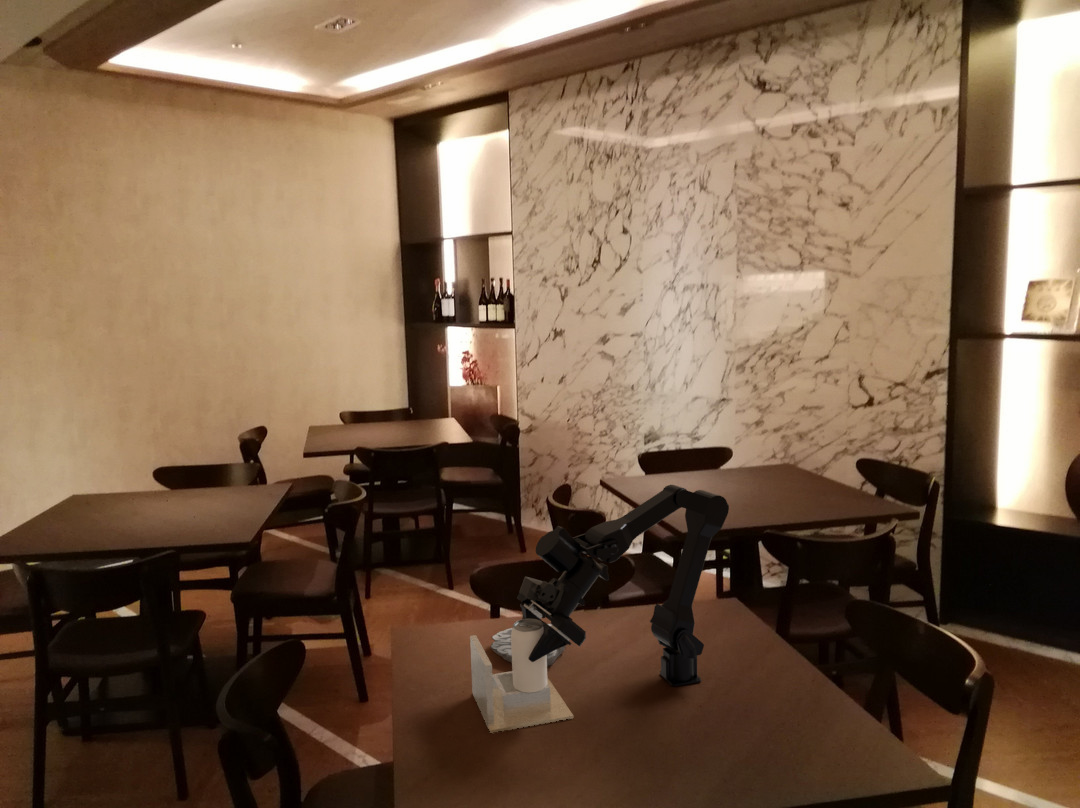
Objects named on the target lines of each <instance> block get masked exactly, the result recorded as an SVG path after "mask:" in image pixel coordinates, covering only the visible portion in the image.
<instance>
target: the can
mask: <svg viewBox="0 0 1080 808" xmlns="http://www.w3.org/2000/svg"><path fill="white" fill-rule="evenodd" d="M512 628H513V630H512V632H511V647H512V663H511V668H512V669H511V671H512V672H513V686H514V688H515V689H516V690H518V691H519V692H522V693H536V692H540V691H542V690H543V689H544V688H545V687H546V686H547V679H548V666H547V655H545V656H543V657H542V658H540V659H538V660H536V661H534V662H531V661H530V660H529V659H528V658H529V656H530V654H531V652H532V650H533V649H534V647H535V646H536V644H537V642H538V641H539V639H540V638H541V636H542V634H543V631H544V627H543V623H542V622H541V621H540V620H537V619H522V618H521V619H519V620H517V621H515V622H513V624H512Z"/></svg>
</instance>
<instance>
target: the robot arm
mask: <svg viewBox="0 0 1080 808" xmlns="http://www.w3.org/2000/svg"><path fill="white" fill-rule="evenodd" d="M679 509H685V514H684V518H685V519H684V520H685V523H686V529H687V532H686V537H685V539H684V543H683V546H682V549H681V553H680V557H679V561H678V564H677V567H676V571H675V575H674V578H673V581H672V585H671V588H670V591H669V596H668V597H667V599H666V600H665V601H664V602H663V603H662V604H659V603H655V605H654V608H653V614H652V617H651V618H650V620H649V623H651V625H650V626H651V627H650V630H651V633H652V634H653V636H654V638H656V639H657V642H658V644H659V645H660V646H662V647H663V648H662V656H660V670H659V674H660V676H662V677H663V679H664V680H666V682H668V683H669V684H670V685H671V686H672V687H678V686H685V685H691V684H696V683H701V682H702V678H701V677H700V676H699V675H698V656H701V655H702V653H703V651H704V646H705V644H704V643H703V642H702V641H701V640H699V638H698V637H696V636H695V635H694V629H695V616H694V612H693V603H694V600H695V596H696V593H697V591H698V590H697V589H698V586H699V583H700V579H701V576H702V571H703V569H704V565H705V561H706V558H707V555H708V552H709V548H710V545H711V541H712V538H713V537H714V536H715V535H716V534H717V533H718V532H719V531H720V530H721V529H722V528H723V526H724V524H725V521H726V519H727V517H728V515H729V510H730V505H729V504H728V502H727V499H726V498H725V497H724V496H722V495H720V494H716V493H712V492H709V491H707V490H703V489H698V490H695V491H694V492H693V491H690V490H687V489H686V488H685V487H681V486H678V485H675V484H669V485H665V486H664V487H663V489H662V490H661V491H660V492H658V493H657V494H655V495H653V496H652V497H651V498H649V499H648V500H646V501H645V502H642V503H641V504H640V505H638V506H637V507H635V508H633V509H632V510H630V511H629V512H627V513H626V514H624V515H622V516H621V517H618V518H617V519H612V520H607V521H603V522H601V523H599V524H597V525H594V526H592V527H590V528H589V529H588V530H587V531H585V532H584V533H582V534H579V535H576V536H574V537H572V536H571V535H570V534H569V532H568V530H566V529H565V528H564V527H562V526H559V525H557V526H556V527H555V529H553V530H550V531H548V532H546V534H544V535H543V536H541V537H540V538H539V539H538V541H537V544H536V545H535V554H536V555H537V556H538V557H540V559H542V560H543V561H544V562H545V563H546V564H548V565H549V566H550V567H551V568H553V569H554V570H555V571H556V572H557V573H562V574H561V576H560V577H559V578H555V577H553V578H551V579H550V580H549V582H547V581H545V580H543V581H542V580H539V579H536V578H532V577H528V576H524V578H523V581H522V584H521V586H520V590H519V591H518V594H517V596H516V599H518V600H519V601H520V602H521V603H520V605H519V606H520V608H521V612H522V618H521V620H522V619H537V620H540V621H541V622H542V623H543V627H544V631H543V634H542V636H541V638H540V639H539V641H538V642H537V644H536V646H535V647H534V649H533V650H532V652H531V654H530V656H529V658H528V659H529V660H530V661H531V662H534V661H536V660H538V659H540V658H542V657H543V656H545V655H547V654H549V653H551V652H553V651H555V650H557V649H559V648H561V647H563V646H565V645H566V646H568V645H569V646H571V645H572V642H573V643H574V644H575V645H577V646H578V647H579V648H580V647H581V646H582V645H583V643H584V642H585V640H586V639H587V635H586V632H587V631H586V630H584V629H583V628H582V627H581V626H580V625H578V623H576V622H574V621H573V619H572V618H571V617H570V616H571V614H573V612H574V610H576V608H577V607H578V605H581V606H582V607H583V606H584V605H585V603H586V602H587V601H586V600H585V599H584V597H585V596H586V594H587V592H588V591H589V590H590V588H591V587H592V586H593V584H594V583H595V582H596V581H597V579H598V577H599V578H601V579H603V580H604V581H606V582H607V581H609V579H610V578H609V572H608V568H609V566H608V565H606V564H604V563H602V562H605V563H609V564H611V563H614V562H616V561H618V559H620V558H621V557H622V556H623V555H625V553H626V552H627V551H629V549H630V548H631V545H632V543H633V541H634V540H636V539H637V537H639V536H640V535H642V534H643V533H645V532H646V531H648V530H649V529H651V528H652V527H654V526H655V525H657V524H659V522H661V521H664V520H665V518H668V517H669V516H670V515H672V514H673V513H675V512H676V511H678V510H679ZM582 553H583V554H585V555H587V556H582ZM595 559H598V560H600V561H602V562H600V563H598V562H597V561H596V560H595ZM522 603H523V604H522ZM542 619H547V620H549V621H550V624H552V625H551V626H549V625H548V624H549V623H547V622H546V621H544V620H542ZM570 640H571V641H572V642H571V641H570Z"/></svg>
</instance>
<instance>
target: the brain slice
mask: <svg viewBox="0 0 1080 808" xmlns="http://www.w3.org/2000/svg"><path fill="white" fill-rule="evenodd" d="M547 624H548V625H549V626H551V625H552V624H551V623H547ZM512 630H513V627H510V628H506V629H503V630H502V631H501V630H500V631H498V632H496V633H495V634H493V635H492V636H491V639H492V640H493V642H492V643H491V644H490V648H491V650H492V651H493V652H494V653H495V654H496V655H498V656H500V657H501V658H502V659H504V661H506V660H507V661H506V662H510V663H511V664H512V647H511V632H512ZM566 647H567V645H565V646H563V647H561V648H559V649H557V650H555V651H553V652H551V653H549V654H547V667H550V666H553V664H554V663H555V662H556V660H557V659H558V658H559V657H560V655H561V654H562V653H564V651H565V650H566ZM557 657H558V658H557Z"/></svg>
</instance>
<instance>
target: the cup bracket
mask: <svg viewBox="0 0 1080 808" xmlns="http://www.w3.org/2000/svg"><path fill="white" fill-rule="evenodd" d="M469 640H470V643H469V646H470V664H471V665H470V667H471V670H470V671H471V687H472V688H471V689H472V690H471V691H472V696H473V698H474V700H475V702H477V703H476V704H477V706H478V707H477V708H478V710H479V712H480V711H481V712H480V713H481V716H482V718H483V721H484V720H485V721H484V724H485V725H486V727H487V730H488V729H489V730H488V732H489V731H490V732H489V734H490V733H492V734H494V733H493V732H497V733H499V732H498V731H502V732H505V731H504V730H508V731H513V730H518V729H517V728H519V729H523V727H524V728H529V727H528V726H530V727H534V725H535V726H540V725H539V724H541V725H545V723H546V724H551V723H550V722H552V723H555V722H556V721H557V722H560V721H559V720H563V721H567V720H566V719H568V720H573V718H574V717H575V716H574V714H573V713H572V711H571V710H570V709H569V707H568V706H567V705H568V704H566V702H565V701H564V700H563V697H562V696H561V695H560V693H559V692H558V691H557V689H556V688H555V686H554V684H553V683H552V681H551V680H550V679H549V678H547V686H546V687H545V688H544V689H543V690H542V691H540V692H536V693H522V692H519V691H518V690H516V689H515V688H514V686H513V672H512V670H511V671H506V672H503V671H502V672H498V673H497V672H496V673H493V664H492V662H491V660H490V659H489V657H488V655H487V653H486V651H485V649H484V647H483V645H482V644H481V642H480V640H479V638H478V637H477V635H476V634H475V635H474V634H473V635H470V636H469ZM512 729H513V730H512Z"/></svg>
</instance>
